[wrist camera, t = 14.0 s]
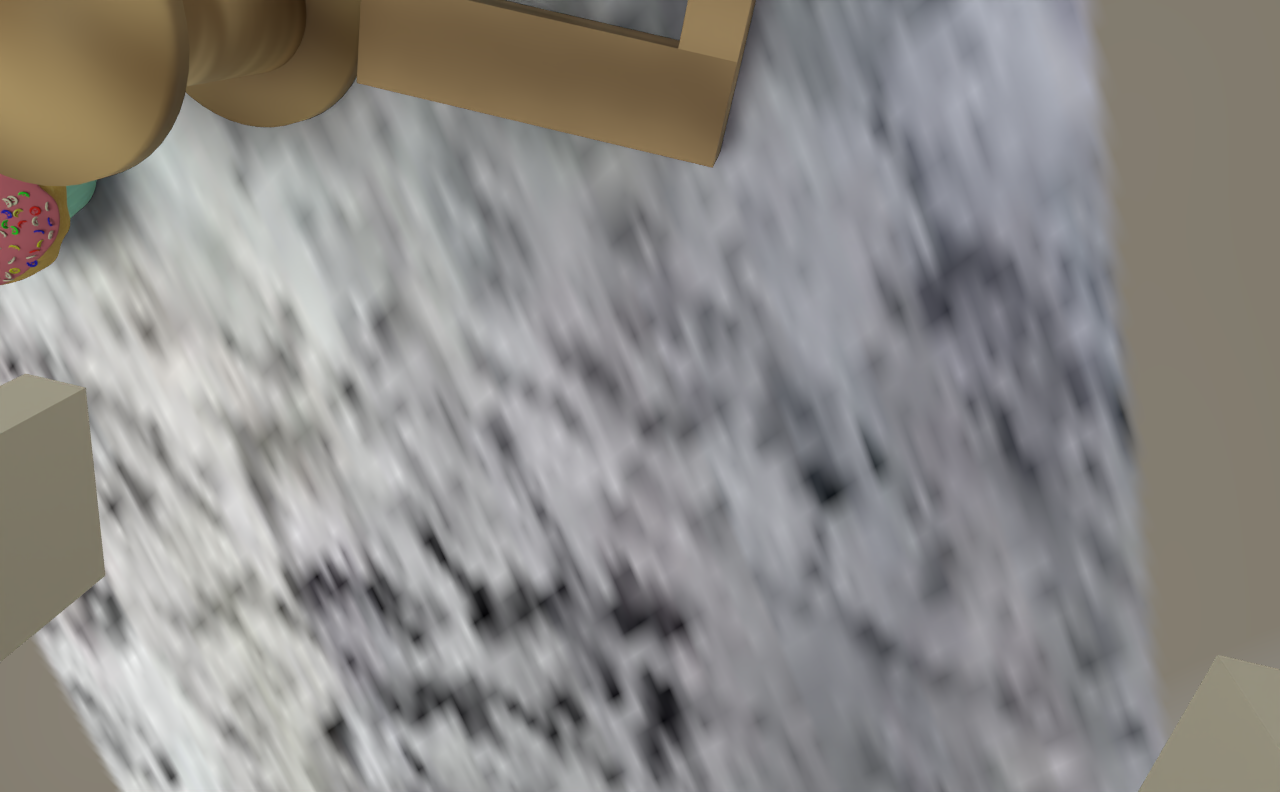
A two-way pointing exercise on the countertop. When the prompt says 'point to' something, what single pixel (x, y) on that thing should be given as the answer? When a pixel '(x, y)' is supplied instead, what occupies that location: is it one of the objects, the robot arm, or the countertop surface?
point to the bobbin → (158, 74)
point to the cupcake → (35, 224)
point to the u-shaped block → (564, 69)
